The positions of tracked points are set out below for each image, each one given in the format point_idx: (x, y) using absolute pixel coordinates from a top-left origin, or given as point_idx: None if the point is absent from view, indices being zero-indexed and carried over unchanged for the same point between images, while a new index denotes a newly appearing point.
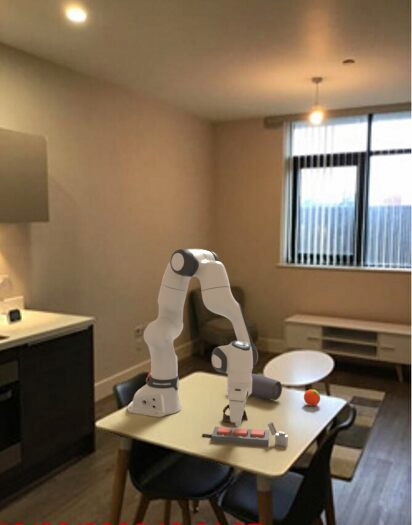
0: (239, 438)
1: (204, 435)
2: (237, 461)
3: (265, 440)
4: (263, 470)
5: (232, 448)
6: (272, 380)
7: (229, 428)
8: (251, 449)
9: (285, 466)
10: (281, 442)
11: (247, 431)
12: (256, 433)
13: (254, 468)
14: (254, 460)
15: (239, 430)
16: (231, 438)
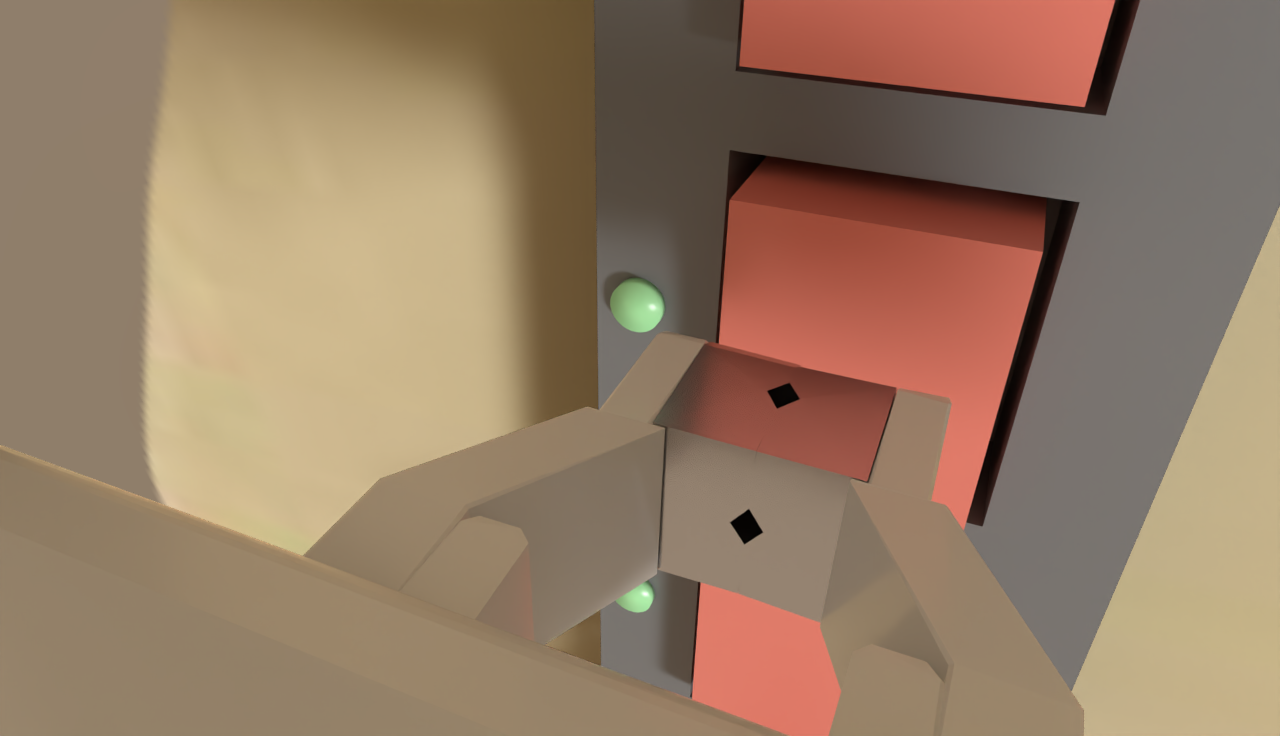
0: (603, 282)
1: None
2: (199, 147)
3: None
4: (155, 424)
5: (564, 71)
6: None
7: (1036, 54)
8: (590, 395)
9: None
10: None
11: (987, 507)
12: (723, 646)
13: (147, 342)
14: (306, 376)
15: (874, 351)
16: (603, 91)
